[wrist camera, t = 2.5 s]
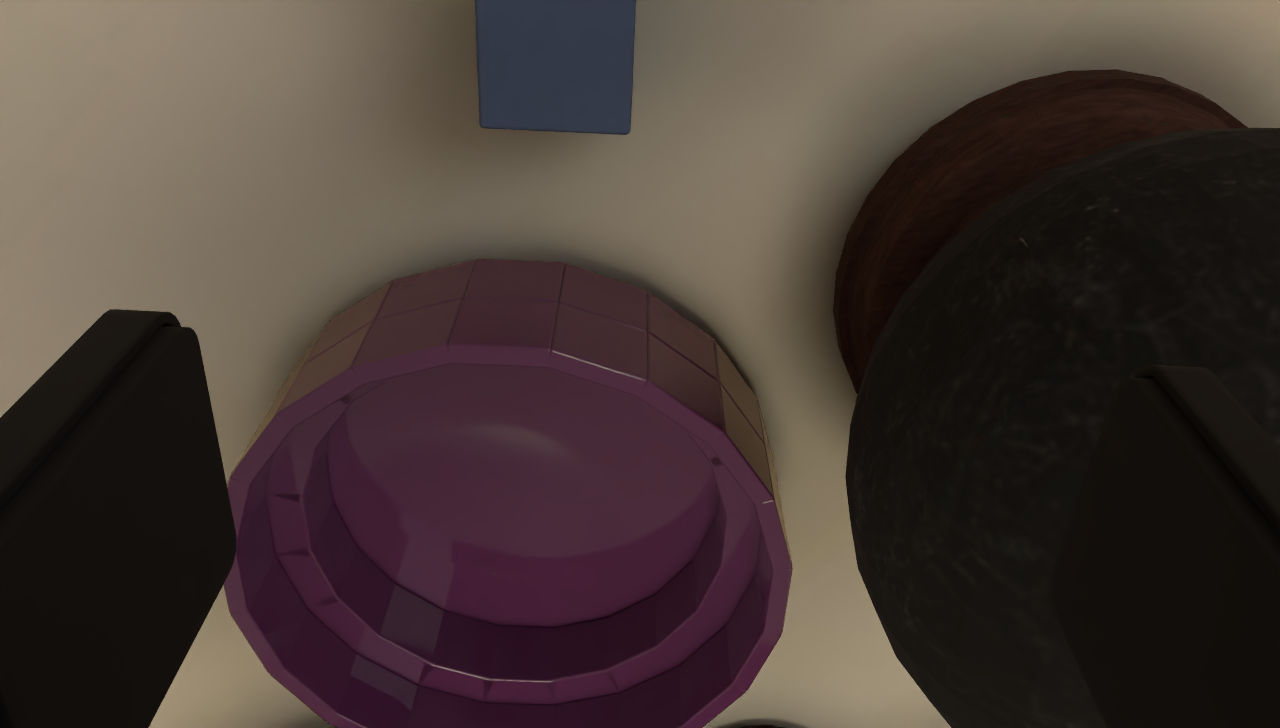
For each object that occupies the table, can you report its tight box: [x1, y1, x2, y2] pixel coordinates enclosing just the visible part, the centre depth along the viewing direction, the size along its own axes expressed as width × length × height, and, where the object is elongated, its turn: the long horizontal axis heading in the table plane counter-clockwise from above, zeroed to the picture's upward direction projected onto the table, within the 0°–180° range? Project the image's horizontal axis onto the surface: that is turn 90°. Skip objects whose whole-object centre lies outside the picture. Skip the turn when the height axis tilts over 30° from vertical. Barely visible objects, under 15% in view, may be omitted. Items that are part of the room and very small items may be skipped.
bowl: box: [224, 259, 792, 728], centre depth 27 cm, size 14×14×5 cm
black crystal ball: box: [833, 70, 1280, 728], centre depth 20 cm, size 13×13×15 cm
